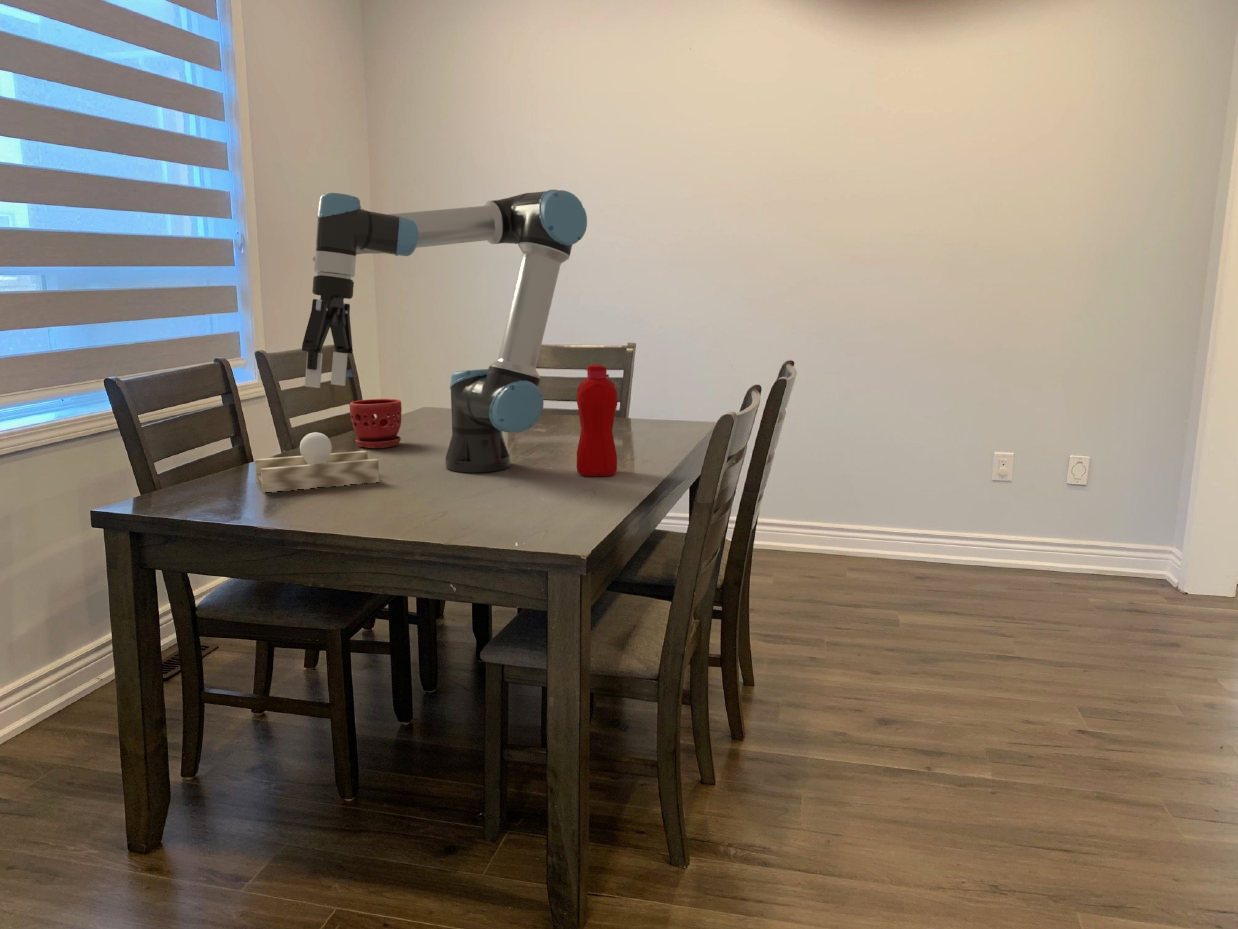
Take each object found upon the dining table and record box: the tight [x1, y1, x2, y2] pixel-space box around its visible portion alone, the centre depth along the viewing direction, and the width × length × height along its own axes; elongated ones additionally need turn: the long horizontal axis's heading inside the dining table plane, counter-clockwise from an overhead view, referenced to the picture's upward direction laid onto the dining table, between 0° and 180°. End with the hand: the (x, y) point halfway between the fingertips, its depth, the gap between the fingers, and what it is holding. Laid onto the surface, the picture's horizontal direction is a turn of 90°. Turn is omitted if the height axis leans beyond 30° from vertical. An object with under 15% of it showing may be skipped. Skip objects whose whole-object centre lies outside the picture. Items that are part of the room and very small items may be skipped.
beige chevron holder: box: [254, 450, 380, 494], centre depth 207 cm, size 24×12×5 cm, turn 117°
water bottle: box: [576, 363, 626, 477], centre depth 216 cm, size 9×11×25 cm
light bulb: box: [299, 432, 333, 464], centre depth 206 cm, size 7×7×11 cm
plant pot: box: [349, 398, 403, 449], centre depth 249 cm, size 13×13×12 cm
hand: (325, 386), depth 186 cm, fingers open, 13 cm apart
